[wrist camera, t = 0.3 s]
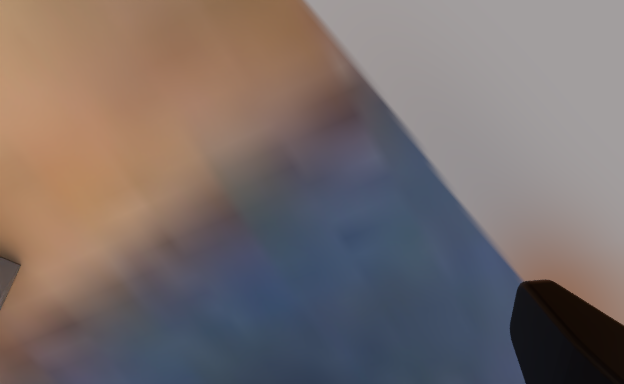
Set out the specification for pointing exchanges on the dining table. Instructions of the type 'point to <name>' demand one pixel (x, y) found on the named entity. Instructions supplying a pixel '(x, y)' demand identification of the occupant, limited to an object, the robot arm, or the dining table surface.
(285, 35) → the dining table surface
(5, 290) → the gray open tray
